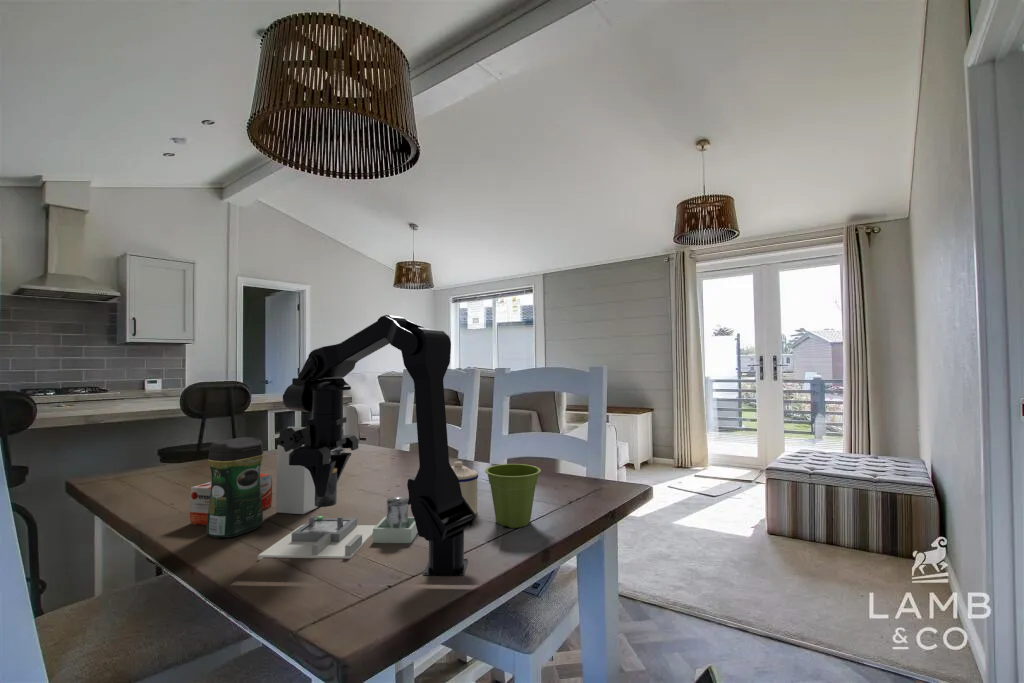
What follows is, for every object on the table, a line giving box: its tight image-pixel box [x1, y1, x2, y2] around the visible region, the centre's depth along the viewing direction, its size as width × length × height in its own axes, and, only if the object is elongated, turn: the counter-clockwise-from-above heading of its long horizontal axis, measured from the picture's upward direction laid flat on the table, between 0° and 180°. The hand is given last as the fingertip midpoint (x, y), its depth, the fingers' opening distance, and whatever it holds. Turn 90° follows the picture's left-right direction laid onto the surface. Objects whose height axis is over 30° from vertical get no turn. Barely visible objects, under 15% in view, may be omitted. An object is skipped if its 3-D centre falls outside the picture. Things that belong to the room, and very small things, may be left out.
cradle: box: [302, 515, 348, 532], centre depth 93 cm, size 6×6×3 cm
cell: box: [315, 466, 338, 508], centre depth 94 cm, size 4×4×7 cm
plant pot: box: [484, 463, 542, 529], centre depth 102 cm, size 12×12×11 cm
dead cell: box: [386, 496, 409, 528], centre depth 93 cm, size 4×4×7 cm
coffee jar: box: [206, 436, 264, 539], centre depth 97 cm, size 10×8×19 cm
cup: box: [372, 516, 418, 544], centre depth 93 cm, size 7×7×3 cm
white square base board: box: [257, 515, 377, 561], centre depth 90 cm, size 16×16×3 cm
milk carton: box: [275, 426, 318, 515], centre depth 112 cm, size 7×7×19 cm
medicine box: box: [189, 473, 273, 526], centre depth 108 cm, size 15×8×8 cm, turn 167°
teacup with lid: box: [451, 460, 479, 515], centre depth 109 cm, size 12×9×12 cm
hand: (326, 493), depth 94 cm, fingers closed on cell, 4 cm apart
